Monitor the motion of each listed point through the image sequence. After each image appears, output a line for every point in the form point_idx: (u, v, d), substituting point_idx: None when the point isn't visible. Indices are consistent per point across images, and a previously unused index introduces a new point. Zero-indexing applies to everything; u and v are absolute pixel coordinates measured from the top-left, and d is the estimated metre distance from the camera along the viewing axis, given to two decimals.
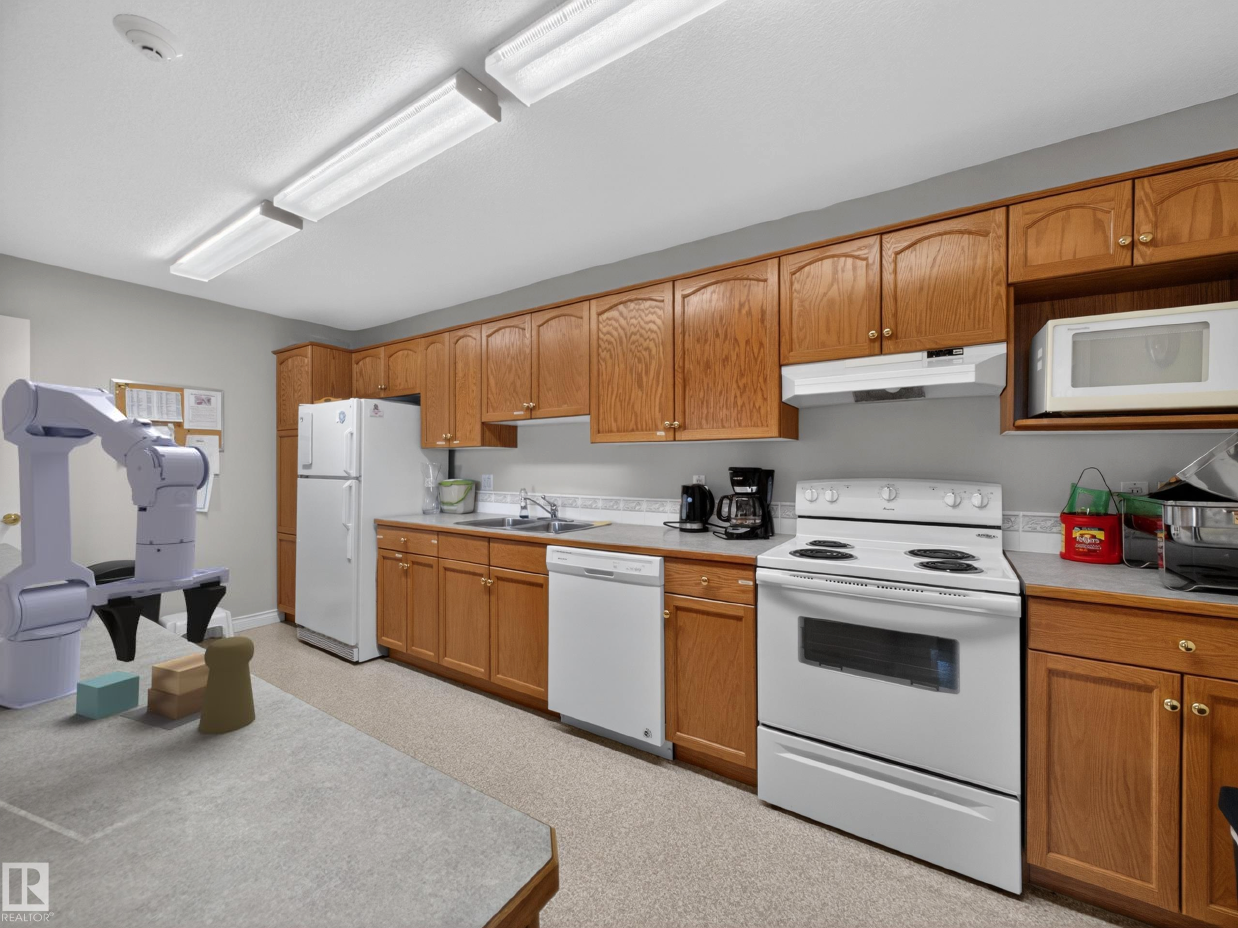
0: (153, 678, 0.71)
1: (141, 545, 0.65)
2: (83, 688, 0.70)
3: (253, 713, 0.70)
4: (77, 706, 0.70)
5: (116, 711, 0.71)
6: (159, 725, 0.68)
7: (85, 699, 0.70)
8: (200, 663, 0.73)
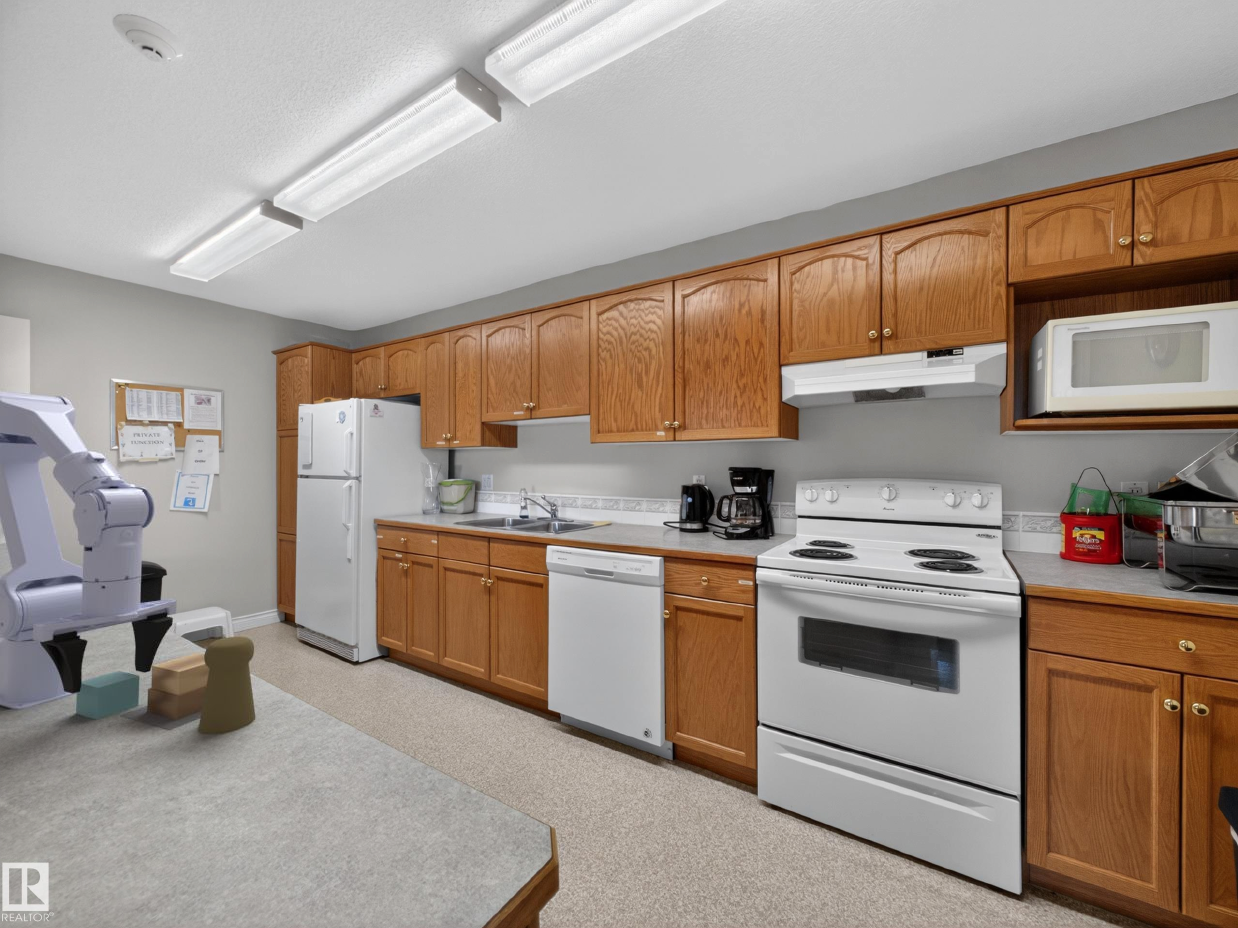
0: (153, 678, 0.71)
1: (87, 583, 0.69)
2: (83, 688, 0.70)
3: (253, 713, 0.70)
4: (77, 706, 0.70)
5: (116, 711, 0.71)
6: (159, 725, 0.68)
7: (85, 699, 0.70)
8: (200, 663, 0.73)
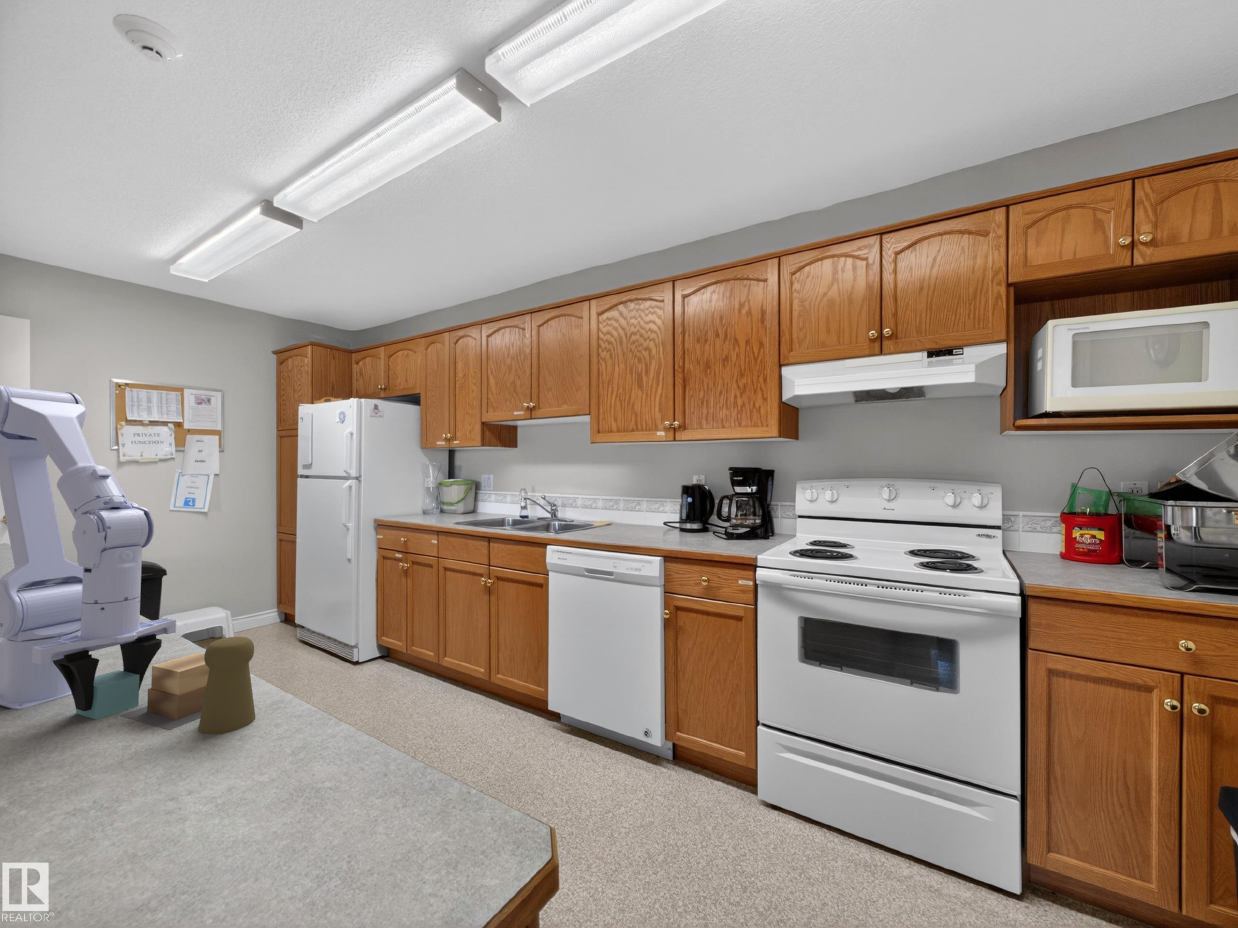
0: (153, 678, 0.71)
1: (86, 604, 0.69)
2: None
3: (253, 713, 0.70)
4: None
5: (117, 710, 0.71)
6: (159, 725, 0.68)
7: None
8: (200, 663, 0.73)
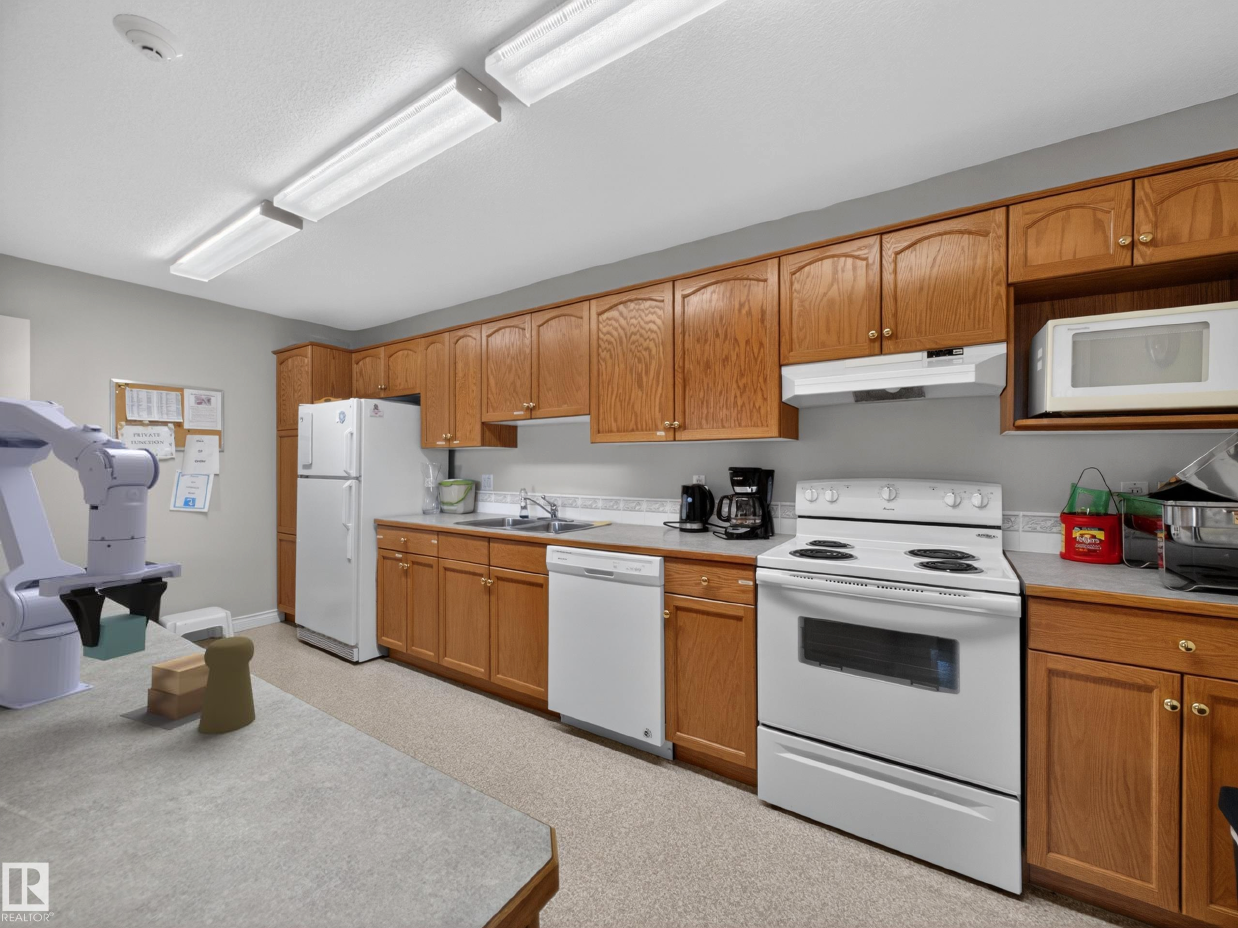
0: (153, 678, 0.71)
1: (92, 541, 0.70)
2: None
3: (253, 713, 0.70)
4: None
5: (124, 650, 0.71)
6: (159, 725, 0.68)
7: None
8: (200, 663, 0.73)
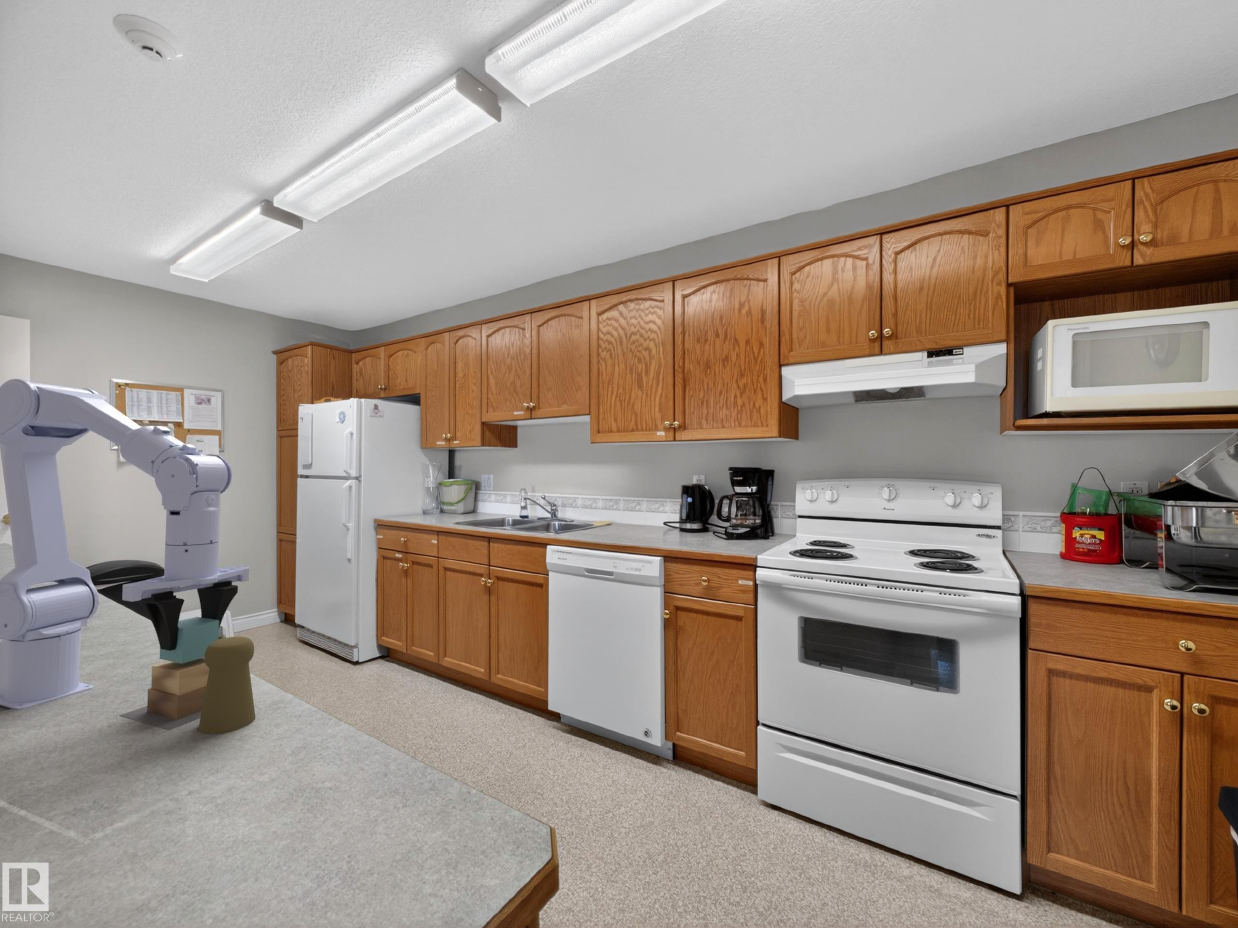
0: (153, 678, 0.71)
1: (170, 546, 0.71)
2: None
3: (253, 713, 0.70)
4: None
5: (199, 653, 0.72)
6: (159, 725, 0.68)
7: None
8: (200, 663, 0.73)
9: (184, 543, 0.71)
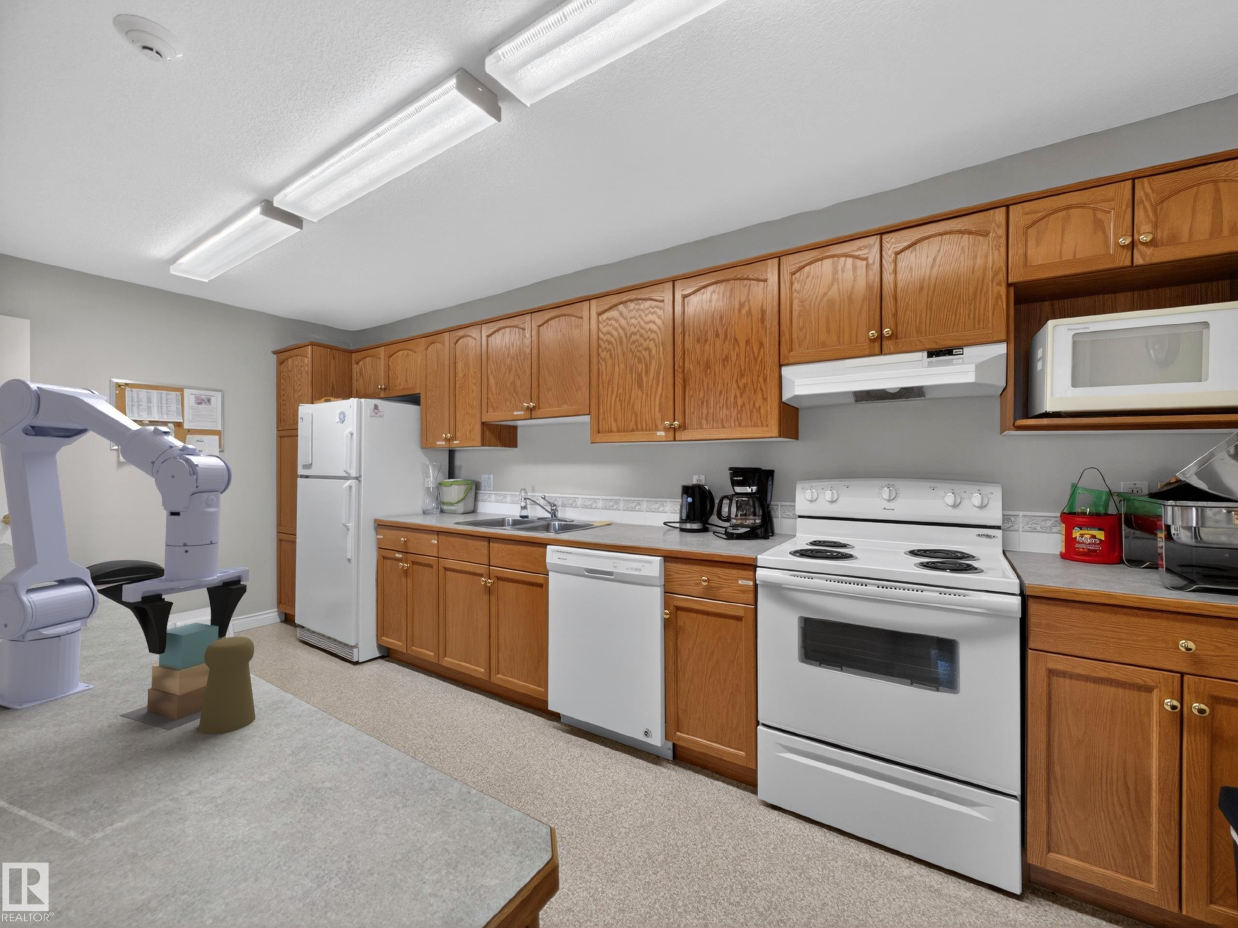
0: (153, 678, 0.71)
1: (170, 547, 0.71)
2: None
3: (253, 713, 0.70)
4: (160, 654, 0.72)
5: (198, 659, 0.72)
6: (159, 725, 0.68)
7: (169, 647, 0.71)
8: None
9: (184, 544, 0.71)
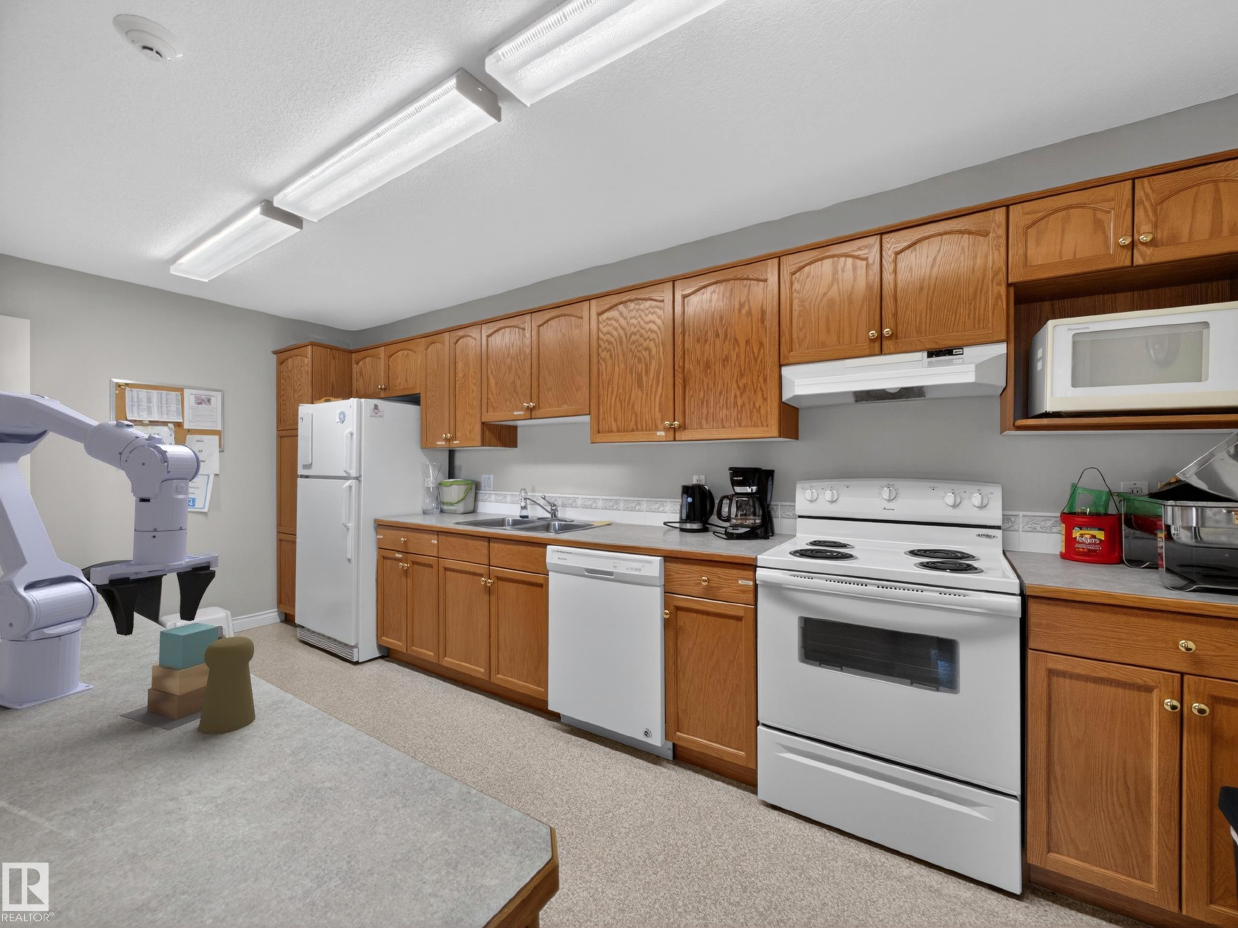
0: (153, 678, 0.71)
1: (138, 532, 0.73)
2: (166, 636, 0.71)
3: (253, 713, 0.70)
4: (160, 654, 0.72)
5: (198, 659, 0.72)
6: (159, 725, 0.68)
7: (169, 647, 0.71)
8: None
9: (154, 529, 0.73)
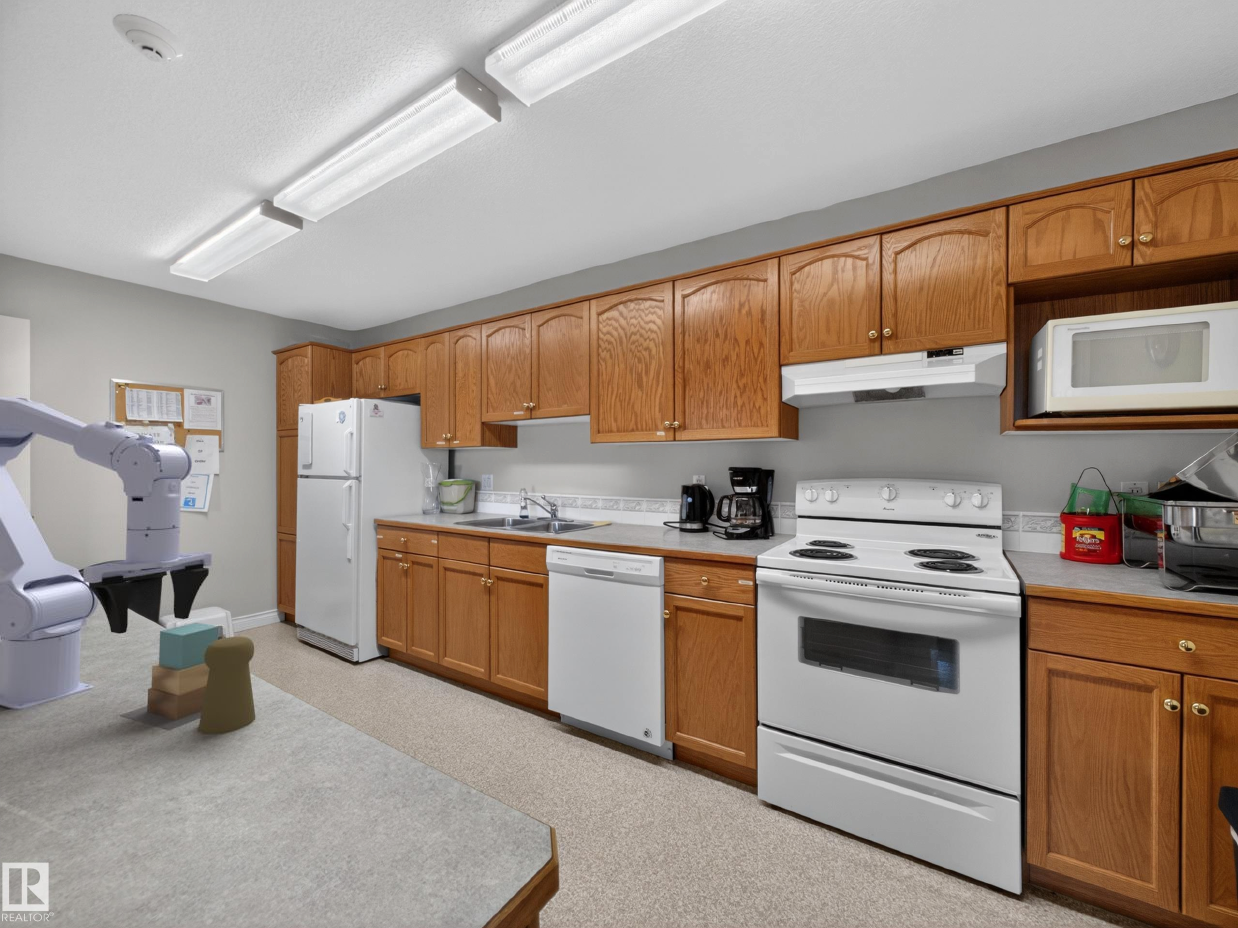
0: (153, 678, 0.71)
1: (131, 531, 0.74)
2: (166, 636, 0.71)
3: (253, 713, 0.70)
4: (160, 654, 0.72)
5: (198, 659, 0.72)
6: (159, 725, 0.68)
7: (169, 647, 0.71)
8: None
9: (147, 528, 0.74)
